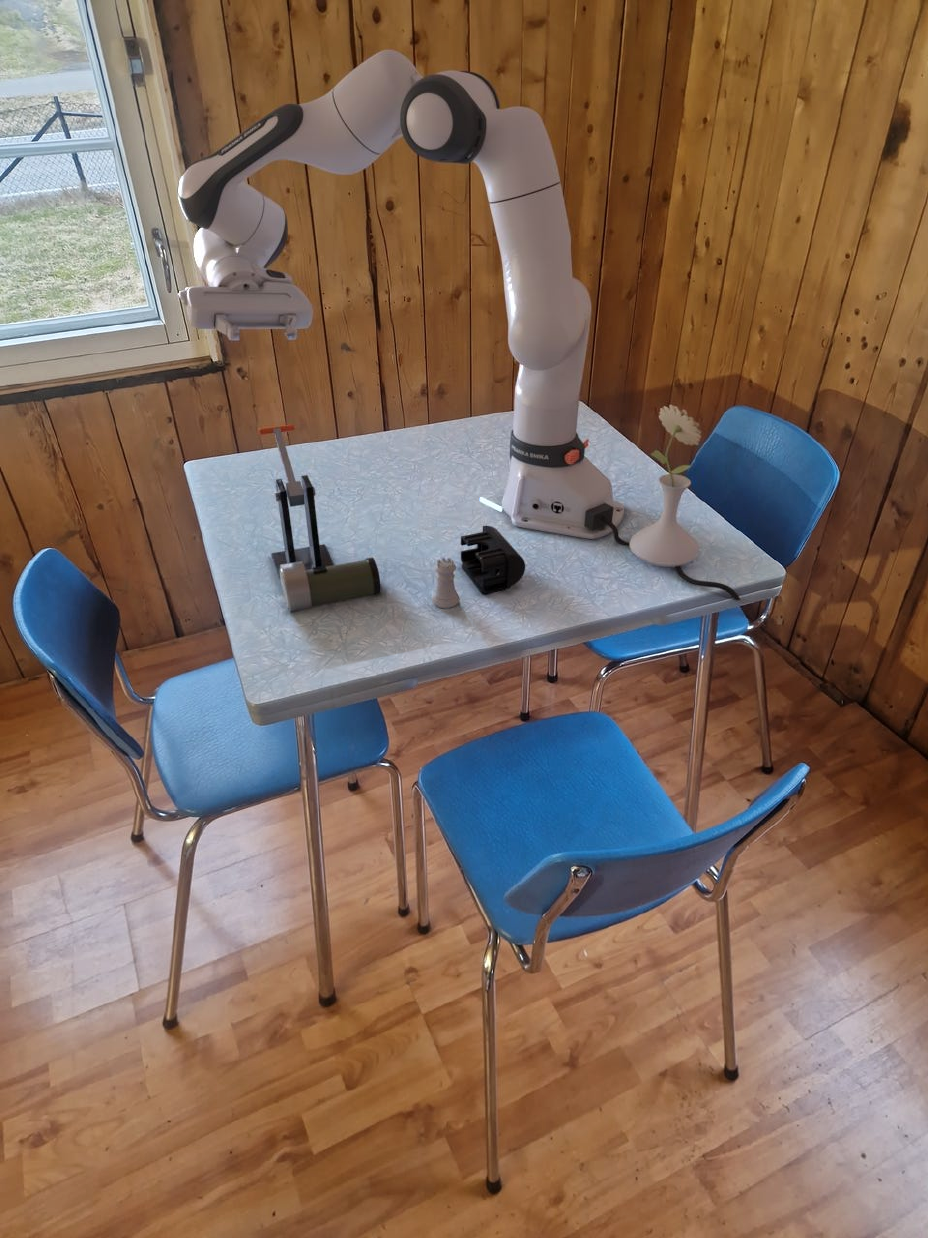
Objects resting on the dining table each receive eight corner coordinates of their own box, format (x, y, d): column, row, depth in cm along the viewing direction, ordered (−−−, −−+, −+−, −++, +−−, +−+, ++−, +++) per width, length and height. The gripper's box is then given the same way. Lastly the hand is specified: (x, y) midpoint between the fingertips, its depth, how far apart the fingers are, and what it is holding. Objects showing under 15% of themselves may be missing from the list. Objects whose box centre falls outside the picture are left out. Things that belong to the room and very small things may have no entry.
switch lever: (259, 435, 134) (258, 424, 132) (293, 430, 136) (293, 419, 134) (279, 508, 127) (278, 498, 125) (315, 502, 128) (315, 492, 126)
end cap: (524, 587, 131) (526, 551, 128) (483, 597, 129) (484, 560, 125) (498, 557, 139) (500, 521, 135) (459, 565, 137) (459, 529, 133)
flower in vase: (710, 567, 137) (739, 423, 122) (647, 578, 134) (670, 431, 119) (672, 530, 147) (695, 392, 132) (612, 539, 144) (630, 399, 130)
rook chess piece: (430, 599, 129) (429, 554, 124) (459, 597, 129) (459, 553, 125) (431, 615, 125) (430, 570, 121) (461, 614, 126) (461, 569, 121)
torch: (291, 621, 124) (285, 580, 120) (282, 596, 129) (276, 556, 125) (382, 603, 128) (380, 563, 124) (370, 579, 133) (368, 540, 129)
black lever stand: (271, 559, 138) (258, 472, 129) (325, 550, 141) (315, 464, 132) (283, 594, 130) (269, 503, 121) (339, 583, 132) (330, 494, 123)
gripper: (176, 270, 133) (198, 317, 125) (298, 273, 142) (326, 318, 135) (175, 306, 137) (197, 354, 130) (294, 307, 147) (321, 352, 140)
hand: (264, 336), depth 133 cm, fingers open, 8 cm apart
